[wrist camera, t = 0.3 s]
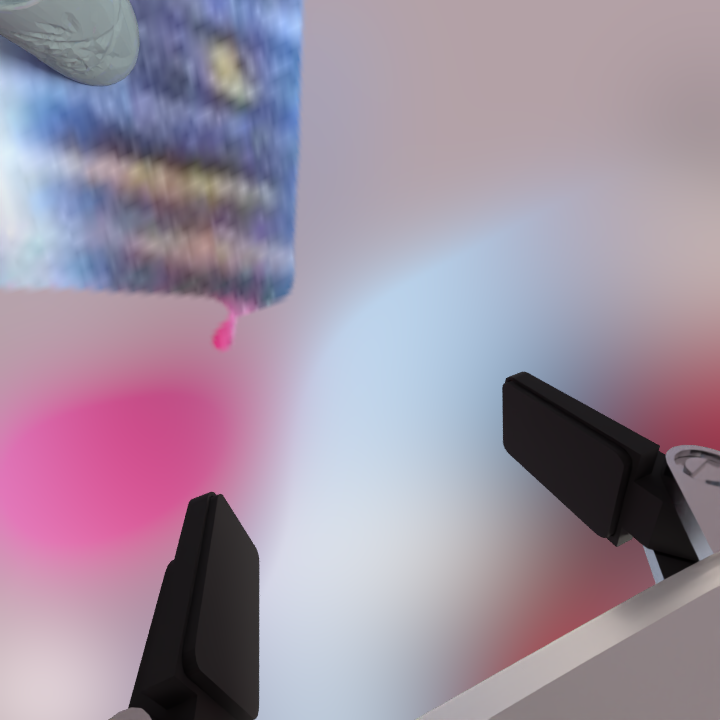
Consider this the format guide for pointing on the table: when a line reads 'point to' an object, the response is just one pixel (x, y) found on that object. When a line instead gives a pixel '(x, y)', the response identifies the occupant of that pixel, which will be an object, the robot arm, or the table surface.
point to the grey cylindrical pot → (75, 36)
